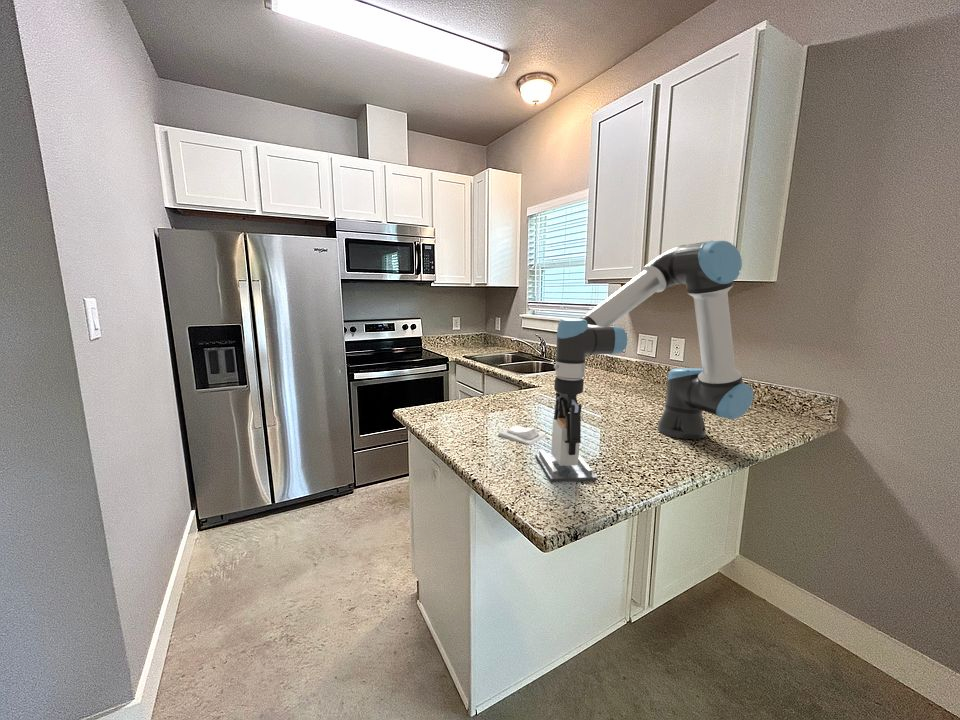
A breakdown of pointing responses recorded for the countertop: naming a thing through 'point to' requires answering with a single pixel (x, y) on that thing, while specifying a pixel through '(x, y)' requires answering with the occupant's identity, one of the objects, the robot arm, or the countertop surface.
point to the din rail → (564, 469)
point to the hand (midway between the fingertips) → (564, 457)
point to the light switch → (522, 434)
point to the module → (561, 441)
